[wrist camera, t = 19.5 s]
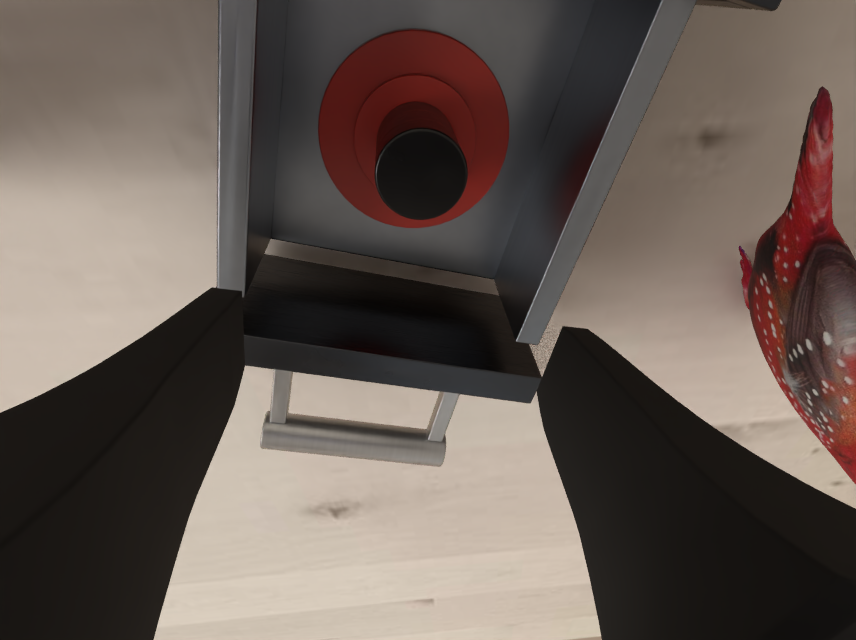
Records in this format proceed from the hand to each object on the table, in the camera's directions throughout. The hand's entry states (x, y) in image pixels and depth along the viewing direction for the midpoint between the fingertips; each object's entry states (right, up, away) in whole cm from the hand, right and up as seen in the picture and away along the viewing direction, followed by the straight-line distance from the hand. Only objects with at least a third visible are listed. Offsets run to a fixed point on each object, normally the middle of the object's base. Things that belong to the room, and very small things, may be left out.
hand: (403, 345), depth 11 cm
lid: (0, +6, +5) cm, 8 cm away
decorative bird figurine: (+14, +4, +10) cm, 18 cm away
